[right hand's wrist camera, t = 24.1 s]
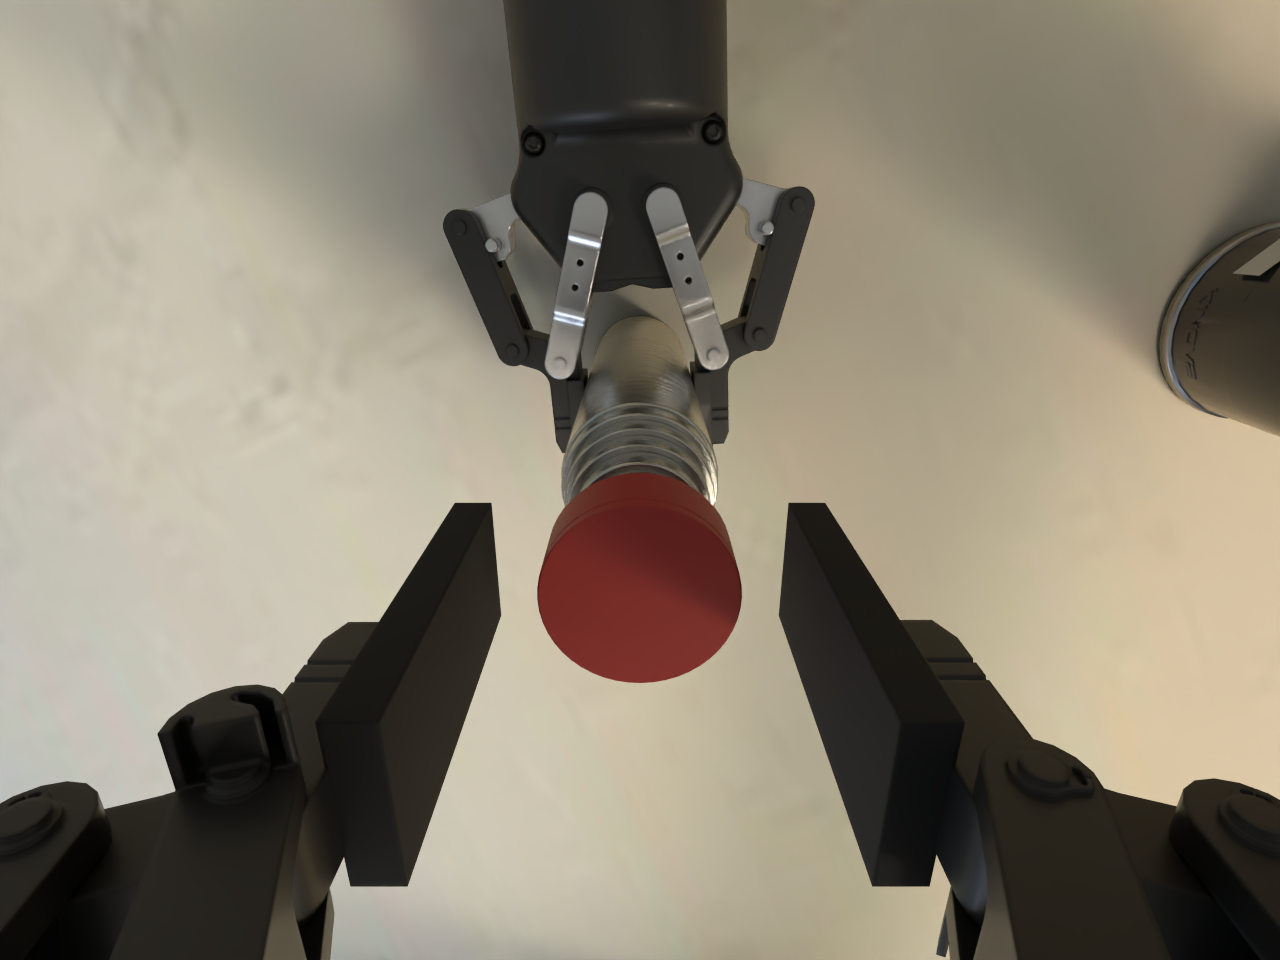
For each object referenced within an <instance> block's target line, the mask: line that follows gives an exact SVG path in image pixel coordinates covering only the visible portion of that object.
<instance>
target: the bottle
mask: <svg viewBox="0 0 1280 960" xmlns="http://www.w3.org/2000/svg"><path fill="white" fill-rule="evenodd" d="M628 473H652V474H657V475H663V476H666V477H670V478H673V479H676V480H678V481H680V482H683V483H685V484H687V485H689V486H690V487H692V488H693V489H695V490H697V491H698V492H699V493H700V494H702V495H703V496H704V497H705V498H706V499H707V500H708V501H709V502H710V503H711V504H712V505H713V506H715V502H716V499H717V491H718V468H717V461H716V457H715V454H714V450H713V447H712V444H711V441H710V438H709V434H708V431H707V428H706V425H705V421H704V418H703V415H702V412H701V408H700V405H699V402H698V399H697V396H696V392H695V389H694V386H693V383H692V379H691V376H690V373H689V370H688V366H687V363H686V360H685V357H684V354H683V350H682V347H681V344H680V342H679V340H678V338H677V336H676V335H675V333H674V332H673V331H672V330H671V329H670V328H669V327H668V326H667V325H666V324H664V323H663V322H661V321H659V320H657V319H654V318H651V317H646V316H634V317H629V318H626V319H623V320H621V321H619V322H617V323H616V324H614V325H613V326H612V327H610V328H609V329H608V330H607V332H606V333H605V334H604V336H603V337H602V339H601V341H600V343H599V346H598V349H597V352H596V356H595V359H594V362H593V365H592V368H591V372H590V375H589V378H588V381H587V384H586V388H585V391H584V394H583V397H582V400H581V404H580V407H579V410H578V413H577V416H576V420H575V423H574V426H573V429H572V432H571V436H570V439H569V442H568V445H567V448H566V452H565V455H564V458H563V464H562V497H563V501H564V505H565V507H566V505H567V504H568V503H569V502H570V501H571V500H572V499H573V498H574V497H575V496H576V495H578V494H579V493H580V492H581V491H583V490H584V489H586V488H587V487H589V486H590V485H592V484H595V483H597V482H599V481H601V480H603V479H606V478H609V477H612V476H617V475H622V474H628Z"/></svg>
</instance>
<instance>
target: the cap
mask: <svg viewBox="0 0 1280 960" xmlns="http://www.w3.org/2000/svg"><path fill="white" fill-rule="evenodd" d="M537 595H538V606H539V612H540V615H541V618H542V621H543V624H544V626H545V628H546V630H547V632H548V634H549V635H550V637H551V639H552V640H553V642H554V643H555V644H556V645H557V647H558V648H559V649H560V650H561V651H562V652H563V653H564V654H565V655H566V656H567V657H568V658H570V659H571V660H572V661H573V662H575V663H576V664H578V665H579V666H581V667H582V668H584V669H586V670H588V671H590V672H592V673H594V674H597V675H599V676H602V677H605V678H609V679H612V680H616V681H623V682H632V683H647V682H657V681H662V680H667V679H671V678H674V677H678V676H680V675H682V674H685V673H687V672H690V671H691V670H693V669H695V668H697V667H698V666H700V665H702V664H703V663H704V662H706V661H707V660H708V659H710V658H711V657H712V656H713V655H714V654H715V653H716V652H717V651H718V650H719V649H720V648H721V647H722V645H723V644H724V643H725V642H726V640H727V639H728V637H729V636H730V634H731V632H732V631H733V628H734V626H735V624H736V622H737V619H738V615H739V612H740V607H741V599H742V589H741V581H740V575H739V571H738V568H737V564H736V560H735V557H734V553H733V549H732V546H731V542H730V538H729V535H728V532H727V529H726V526H725V524H724V522H723V520H722V518H721V516H720V515H719V513H718V512H717V510H716V509H715V508H714V506H713V505H712V504H711V503H710V502H709V501H708V500H707V499H706V498H705V497H704V496H703V495H702V494H700V493H699V492H698V491H697V490H695V489H693V488H692V487H690V486H689V485H687V484H685V483H683V482H680V481H678V480H676V479H673V478H670V477H666V476H663V475H657V474H652V473H628V474H622V475H617V476H612V477H609V478H606V479H603V480H601V481H599V482H597V483H595V484H592V485H590V486H589V487H587V488H586V489H584V490H583V491H581V492H580V493H579V494H578V495H576V496H575V497H574V498H573V499H572V500H571V501H570V502H569V503H568V504H567V505H566V507H565V508H564V509H563V511H562V512H561V514H560V515H559V517H558V518H557V520H556V522H555V525H554V527H553V529H552V533H551V536H550V539H549V543H548V547H547V550H546V554H545V557H544V561H543V565H542V568H541V572H540V575H539V581H538V588H537Z"/></svg>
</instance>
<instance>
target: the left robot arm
mask: <svg viewBox="0 0 1280 960" xmlns="http://www.w3.org/2000/svg"><path fill="white" fill-rule="evenodd" d="M503 2H504V10H505V19H506V28H507V37H508V46H509V55H510V64H511V73H512V82H513V91H514V100H515V109H516V118H517V127H518V136H519V147H520V155H519V163H518V167H517V171H516V173H515V176H514V178H513V181H512V184H511V193H510V194H507V195H505V196H502V197H500V198H497V199H495V200H492V201H490V202H487V203H485V204H482V205H480V206H477V207H475V208H472V209H456V210H453V211H451V212H449V213H448V214H447V215H446V217H445V219H444V222H443V229H444V232H445V235H446V237H447V239H448V242H449V244H450V246H451V249H452V251H453V253H454V255H455V258H456V260H457V262H458V265H459V267H460V269H461V271H462V274H463V276H464V278H465V281H466V283H467V285H468V287H469V290H470V292H471V294H472V297H473V299H474V301H475V304H476V306H477V308H478V310H479V313H480V315H481V317H482V320H483V322H484V324H485V326H486V329H487V331H488V333H489V336H490V338H491V340H492V343H493V345H494V347H495V349H496V352H497V354H498V356H499V358H500V359H501V361H502V362H503V363H505V364H507V365H509V366H518V365H523V366H527V367H530V368H534V369H537V370H539V371H541V372H542V373H543V374H544V375H545V376H546V377H547V378H548V380H549V383H550V387H551V397H552V406H553V415H554V424H555V434H556V442H557V444H558V446H559V447H560V449H561V451H562V453H565V452H566V448H567V445H568V442H569V439H570V436H571V432H572V429H573V426H574V423H575V420H576V416H577V413H578V410H579V407H580V404H581V400H582V397H583V394H584V391H585V388H586V384H587V381H588V370H587V368H585V369H582V361H581V350H582V345H583V340H584V336H585V331H586V327H587V322H588V318H589V314H590V310H591V306H592V301H593V297H594V292H606V291H613V290H616V289H619V288H622V287H625V286H628V285H631V284H634V285H639V286H644V287H648V288H653V289H655V288H671V287H673V290H674V293H675V296H676V299H677V301H678V304H679V307H680V310H681V313H682V315H683V318H684V321H685V324H686V327H687V330H688V332H689V335H690V338H691V341H692V344H693V347H694V352H695V362H690V376H691V379H692V383H693V386H694V389H695V392H696V396H697V399H698V402H699V405H700V408H701V412H702V415H703V418H704V421H705V425H706V428H707V431H708V434H709V438H710V441H711V444H712V447H713V444H721V443H724V442H725V439H726V437H727V434H728V432H729V427H728V371H729V368H730V366H731V364H732V363H733V362H734V361H735V360H736V359H737V358H739V357H741V356H743V355H745V354H748V353H750V352H753V351H755V350H756V351H762V350H765V349H767V348H769V347H770V346H771V345H772V343H773V342H774V340H775V336H776V333H777V330H778V326H779V323H780V320H781V316H782V313H783V310H784V306H785V303H786V300H787V297H788V293H789V290H790V287H791V283H792V280H793V277H794V273H795V270H796V267H797V263H798V260H799V257H800V253H801V250H802V247H803V243H804V240H805V237H806V233H807V230H808V227H809V223H810V220H811V217H812V213H813V210H814V206H815V201H814V197H813V194H812V193H811V192H810V191H809V190H808V189H807V188H805V187H792V188H786V189H783V188H779V187H776V186H772V185H768V184H764V183H760V182H756V181H752V180H748V179H744V178H743V177H742V172H741V169H740V167H739V165H738V163H737V161H736V159H735V157H734V155H733V153H732V150H731V147H730V143H729V138H728V101H727V12H726V0H503ZM735 206H738V207H739V208H741V209H742V211H743V212H744V214H745V217H746V225H745V231H746V235H747V237H748V238H749V240H751V241H752V242H754V243H756V244H758V246H757V250H756V254H755V257H754V261H753V264H752V268H751V272H750V275H749V279H748V282H747V286H746V290H745V293H744V297H743V301H742V304H741V308H740V311H739V315H738V318H736V319H734V320H731V321H729V322H727V323H724V324H722V325H720V323H719V320H718V317H717V314H716V311H715V308H714V303H713V300H712V297H711V294H710V291H709V288H708V285H707V282H706V279H705V276H704V273H703V270H702V267H701V264H700V260H701V259H702V257H703V256H704V254H705V252H706V251H707V249H708V248H709V246H710V245H711V243H712V242H713V240H714V238H715V237H716V235H717V234H718V232H719V231H720V229H721V227H722V226H723V224H724V223H725V221H726V220H727V218H728V217H729V215H730V213H731V212H732V210H733V209H734V207H735ZM519 220H522V221H523V222H524V224H525V225H526V226H527V227H528V228H529V230H530V231H531V232H532V233H533V235H534V236H535V237H536V238H537V239H538V241H539V242H540V243H541V244H542V245H543V247H544V248H545V249H546V250H547V252H548V253H549V254H550V255H551V256H552V258H553V259H554V260H555V261H556V262H557V264H558V265H559V266H560V267H561V268H562V271H561V276H560V281H559V286H558V291H557V296H556V301H555V306H554V312H553V322H552V327H551V332H550V335H549V334H545V333H542V332H539V331H535V330H533V327H532V325H531V322H530V320H529V317H528V315H527V313H526V310H525V308H524V305H523V303H522V300H521V298H520V296H519V293H518V291H517V288H516V286H515V283H514V281H513V278H512V276H511V274H510V271H509V269H508V266H507V264H506V261H505V259H507V258H509V257H510V256H511V255H512V254H513V252H514V250H515V240H514V236H513V231H514V227H515V225H516V224H517V222H518V221H519ZM1159 351H1160V362H1161V367H1162V370H1163V374H1164V376H1165V378H1166V381H1167V382H1168V384H1169V386H1170V388H1171V389H1172V390H1173V392H1174V393H1175V394H1176V395H1177V396H1178V397H1179V398H1180V399H1181V400H1182V401H1184V402H1185V403H1186V404H1188V405H1190V406H1191V407H1193V408H1195V409H1198V410H1200V411H1203V412H1205V413H1208V414H1211V415H1214V416H1218V417H1223V418H1229V419H1232V420H1235V421H1238V422H1241V423H1244V424H1246V425H1249V426H1252V427H1255V428H1258V429H1260V430H1263V431H1265V432H1268V433H1271V434H1274V435H1277V436H1280V222H1274V223H1269V224H1265V225H1261V226H1258V227H1255V228H1252V229H1250V230H1247V231H1245V232H1243V233H1241V234H1239V235H1237V236H1235V237H1233V238H1231V239H1230V240H1228V241H1226V242H1225V243H1223V244H1222V245H1220V246H1219V247H1217V248H1216V249H1215V250H1213V251H1212V252H1211V253H1210V254H1209V255H1207V256H1206V257H1205V258H1204V259H1203V260H1202V261H1201V262H1200V263H1199V264H1198V265H1197V266H1196V267H1195V268H1194V269H1193V270H1192V271H1191V273H1190V274H1189V275H1188V276H1187V278H1186V279H1185V280H1184V281H1183V283H1182V284H1181V286H1180V287H1179V289H1178V290H1177V292H1176V294H1175V296H1174V297H1173V299H1172V301H1171V303H1170V306H1169V308H1168V310H1167V313H1166V315H1165V318H1164V322H1163V325H1162V329H1161V335H1160V345H1159Z"/></svg>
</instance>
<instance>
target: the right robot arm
mask: <svg viewBox="0 0 1280 960" xmlns="http://www.w3.org/2000/svg"><path fill="white" fill-rule="evenodd" d="M500 617H501V608H500V597H499V585H498V574H497V562H496V551H495V539H494V527H493V516H492V504H491V503H455V504H454V505H453V507H452V508H451V510H450V512H449V513H448V515H447V516H446V518H445V519H444V521H443V522H442V524H441V526H440V527H439V529H438V530H437V532H436V533H435V535H434V537H433V538H432V540H431V541H430V543H429V544H428V546H427V548H426V549H425V551H424V552H423V554H422V555H421V557H420V558H419V560H418V562H417V563H416V565H415V566H414V568H413V569H412V571H411V573H410V574H409V576H408V577H407V579H406V580H405V582H404V584H403V585H402V587H401V588H400V590H399V591H398V593H397V594H396V596H395V598H394V599H393V601H392V602H391V604H390V605H389V607H388V609H387V610H386V612H385V613H384V615H383V616H382V618H381V620H380V621H379V622H348V623H347V624H345V625H344V626H342V627H341V628H339V629H338V630H336V631H335V632H334V633H332V634H331V635H329V636H328V637H326V638H325V639H324V640H323V641H322V642H321V643H320V645H319V646H318V647H317V649H316V650H315V651H314V653H313V654H312V655H311V657H310V658H309V659H308V663H307V665H304V666H303V668H302V669H301V670H300V672H299V673H298V674H297V676H296V677H295V681H294V682H291V684H290V685H289V686H288V688H287V689H286V690H285V692H284V693H283V694H281V693H280V692H279V691H278V690H276V689H275V688H271V687H267V686H262V685H245V686H235V687H231V688H227V689H224V690H220V691H217V692H213V693H210V694H208V695H206V696H204V697H202V698H200V699H198V700H196V701H194V702H192V703H189V704H188V705H186V706H185V707H184V708H182V709H181V710H180V711H178V712H177V713H176V714H174V715H173V716H172V717H170V718H169V719H168V721H167V722H166V723H165V725H164V726H163V727H162V729H161V730H160V731H159V733H158V737H159V740H160V743H161V746H162V749H163V753H164V756H165V759H166V762H167V765H168V768H169V771H170V774H171V777H172V780H173V783H174V786H175V792H172V793H169V794H166V795H163V796H159V797H154V798H150V799H146V800H142V801H137V802H133V803H129V804H124V805H120V806H116V807H112V808H107V809H104V808H103V805H102V802H101V800H100V797H99V795H98V792H97V791H96V790H94V789H93V788H92V787H91V786H89V785H88V784H87V783H78V782H68V781H66V782H61V783H55V784H49V785H44V786H40V787H37V788H35V789H32V790H29V791H27V792H23V793H21V794H18V795H16V796H13V797H11V798H9V799H8V800H6V801H4V802H2V803H1V804H0V960H330V954H331V944H332V933H333V923H334V909H333V902H332V897H331V892H330V886H331V884H332V881H333V879H334V877H335V875H336V873H337V871H338V868H339V866H340V864H341V862H342V860H343V858H345V863H346V868H347V872H348V877H349V881H350V886H408V883H409V881H410V878H411V875H412V872H413V869H414V866H415V863H416V860H417V857H418V855H419V852H420V849H421V846H422V843H423V840H424V837H425V834H426V831H427V828H428V826H429V823H430V820H431V817H432V814H433V811H434V808H435V805H436V802H437V800H438V797H439V794H440V791H441V788H442V785H443V782H444V779H445V776H446V773H447V771H448V768H449V765H450V762H451V759H452V756H453V753H454V750H455V747H456V745H457V742H458V739H459V736H460V733H461V730H462V727H463V724H464V721H465V718H466V716H467V713H468V710H469V707H470V704H471V701H472V698H473V695H474V692H475V690H476V687H477V684H478V681H479V678H480V675H481V672H482V669H483V666H484V663H485V661H486V658H487V655H488V652H489V649H490V646H491V643H492V640H493V637H494V635H495V632H496V629H497V626H498V623H499V620H500ZM779 617H780V620H781V623H782V626H783V629H784V632H785V634H786V637H787V640H788V643H789V646H790V649H791V652H792V655H793V658H794V661H795V663H796V666H797V669H798V672H799V675H800V678H801V681H802V684H803V687H804V689H805V692H806V695H807V698H808V701H809V704H810V707H811V710H812V713H813V716H814V718H815V721H816V724H817V727H818V730H819V733H820V736H821V739H822V742H823V744H824V747H825V750H826V753H827V756H828V759H829V762H830V765H831V768H832V771H833V773H834V776H835V779H836V782H837V785H838V788H839V791H840V794H841V797H842V799H843V802H844V805H845V808H846V811H847V814H848V817H849V820H850V823H851V826H852V828H853V831H854V834H855V837H856V840H857V843H858V846H859V849H860V852H861V855H862V857H863V860H864V863H865V866H866V869H867V872H868V875H869V878H870V881H871V883H872V886H930V882H931V877H932V872H933V868H934V863H935V858H936V854H937V856H938V858H939V861H940V863H941V865H942V867H943V869H944V871H945V874H946V876H947V878H948V880H949V882H950V884H951V888H950V892H949V897H948V901H947V905H946V910H945V914H944V918H943V922H942V927H941V931H940V935H939V940H938V946H937V953H936V955H940V956H943V957H946V953H947V949H948V945H949V952H950V960H1280V800H1279V799H1277V798H1275V797H1273V796H1272V795H1270V794H1268V793H1265V792H1262V791H1260V790H1258V789H1254V788H1252V787H1249V786H1246V785H1244V784H1241V783H1237V782H1231V781H1225V780H1220V779H1205V780H1195V781H1193V782H1192V783H1191V784H1189V785H1188V786H1187V787H1186V788H1184V789H1183V792H1182V795H1181V797H1180V800H1179V802H1178V805H1177V806H1172V805H1168V804H1164V803H1160V802H1155V801H1151V800H1147V799H1142V798H1138V797H1134V796H1129V795H1125V794H1121V793H1117V792H1114V791H1111V790H1107V789H1104V788H1103V786H1102V785H1101V783H1100V782H1099V780H1098V778H1097V777H1096V775H1095V774H1094V772H1092V771H1091V770H1090V769H1089V768H1088V767H1086V766H1085V765H1084V764H1083V763H1082V762H1081V761H1079V760H1078V759H1077V758H1076V757H1074V756H1072V755H1070V754H1069V753H1067V752H1065V751H1063V750H1061V749H1059V748H1057V747H1056V746H1054V745H1051V744H1047V743H1044V742H1041V741H1038V740H1035V739H1033V738H1032V737H1031V735H1030V734H1029V733H1028V731H1027V730H1026V729H1025V727H1024V726H1023V725H1022V723H1021V722H1020V721H1019V719H1018V718H1017V717H1016V715H1015V714H1014V713H1013V711H1012V710H1011V709H1010V707H1009V706H1008V705H1007V703H1006V702H1005V701H1004V699H1003V698H1002V697H1001V695H1000V694H999V693H998V691H997V690H996V689H995V687H994V686H993V685H992V683H991V682H990V681H989V680H986V675H985V674H984V673H983V671H982V670H981V669H980V667H979V666H978V665H977V663H973V658H972V657H971V655H970V654H969V653H968V651H967V650H966V649H965V647H964V646H963V645H962V643H961V642H960V641H959V639H958V638H957V637H956V636H954V635H953V634H951V633H950V632H948V631H947V630H946V629H944V628H943V627H941V626H940V625H938V624H937V623H935V622H934V621H933V620H899V618H898V616H897V615H896V613H895V612H894V610H893V609H892V607H891V605H890V604H889V602H888V601H887V599H886V598H885V596H884V594H883V593H882V591H881V590H880V588H879V587H878V585H877V584H876V582H875V580H874V579H873V577H872V576H871V574H870V573H869V571H868V569H867V568H866V566H865V565H864V563H863V562H862V560H861V558H860V557H859V555H858V554H857V552H856V551H855V549H854V548H853V546H852V544H851V543H850V541H849V540H848V538H847V537H846V535H845V533H844V532H843V530H842V529H841V527H840V526H839V524H838V522H837V521H836V519H835V518H834V516H833V515H832V513H831V511H830V510H829V508H828V507H827V505H826V504H825V503H789V505H788V516H787V528H786V539H785V551H784V562H783V574H782V585H781V597H780V609H779Z"/></svg>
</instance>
